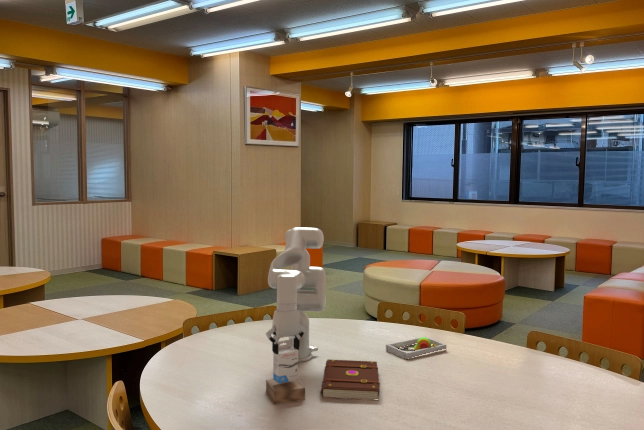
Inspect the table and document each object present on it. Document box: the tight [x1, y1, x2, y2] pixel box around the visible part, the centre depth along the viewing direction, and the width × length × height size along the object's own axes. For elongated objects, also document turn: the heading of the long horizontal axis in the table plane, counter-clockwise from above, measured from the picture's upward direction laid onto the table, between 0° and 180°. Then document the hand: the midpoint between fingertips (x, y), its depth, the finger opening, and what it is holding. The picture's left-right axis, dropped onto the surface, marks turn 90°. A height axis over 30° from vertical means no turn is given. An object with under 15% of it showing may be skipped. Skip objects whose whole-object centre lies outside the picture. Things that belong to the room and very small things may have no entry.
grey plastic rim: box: [385, 336, 447, 360], centre depth 259 cm, size 26×15×3 cm, turn 123°
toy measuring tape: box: [396, 336, 436, 351], centre depth 259 cm, size 6×19×7 cm, turn 78°
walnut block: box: [265, 378, 306, 405], centre depth 203 cm, size 12×12×5 cm
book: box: [320, 359, 381, 400], centre depth 217 cm, size 23×32×5 cm
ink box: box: [272, 339, 299, 383], centre depth 202 cm, size 8×5×15 cm, turn 123°
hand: (286, 351), depth 202 cm, fingers closed on ink box, 8 cm apart
